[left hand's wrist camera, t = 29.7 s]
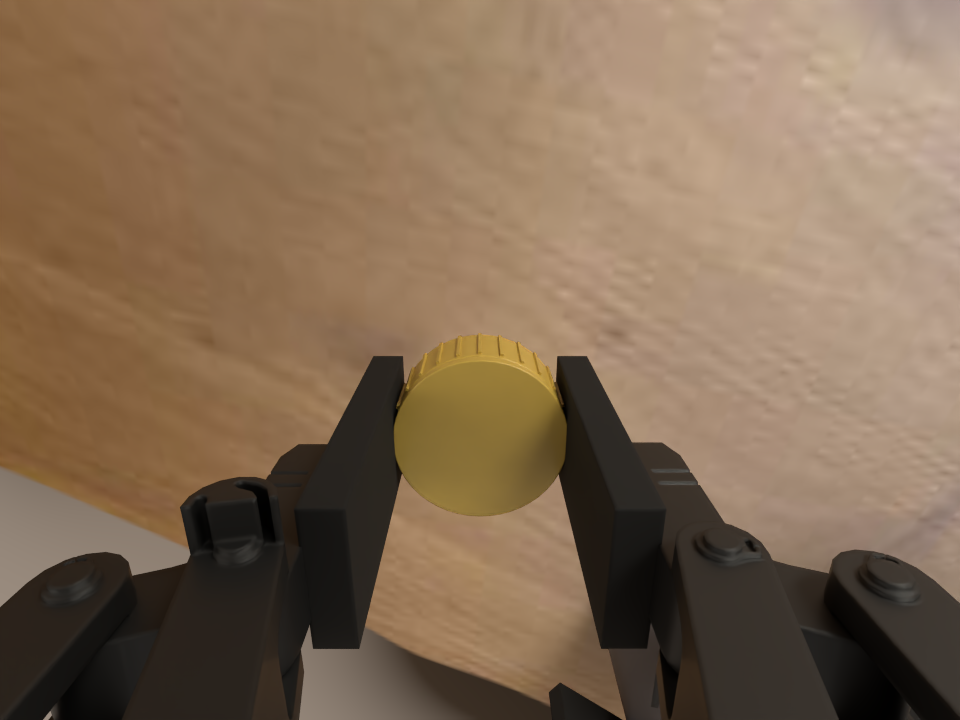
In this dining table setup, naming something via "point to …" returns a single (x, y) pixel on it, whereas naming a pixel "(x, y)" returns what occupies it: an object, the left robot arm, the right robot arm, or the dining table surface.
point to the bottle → (637, 679)
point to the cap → (480, 426)
